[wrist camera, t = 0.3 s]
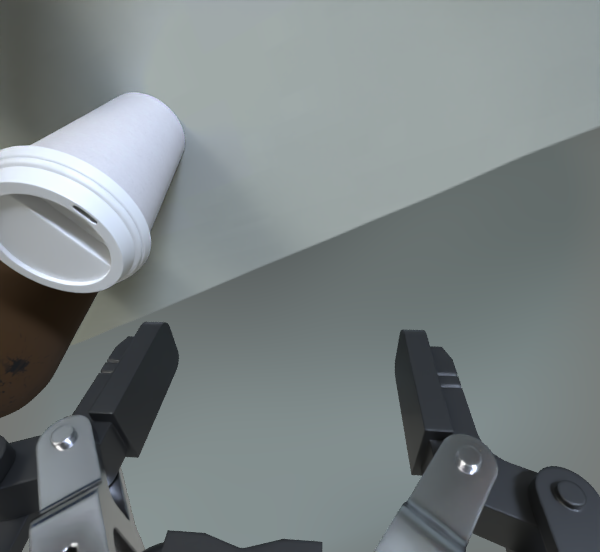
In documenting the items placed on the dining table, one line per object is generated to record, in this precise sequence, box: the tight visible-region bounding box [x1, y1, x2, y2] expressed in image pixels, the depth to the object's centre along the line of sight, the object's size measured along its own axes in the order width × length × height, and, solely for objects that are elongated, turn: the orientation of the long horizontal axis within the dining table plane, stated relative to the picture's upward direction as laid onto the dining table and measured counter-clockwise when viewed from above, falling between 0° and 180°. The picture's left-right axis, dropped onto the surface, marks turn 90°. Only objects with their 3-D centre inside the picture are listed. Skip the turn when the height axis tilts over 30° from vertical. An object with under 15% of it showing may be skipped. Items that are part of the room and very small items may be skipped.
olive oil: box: [0, 260, 99, 418], centre depth 31 cm, size 11×11×25 cm
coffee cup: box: [0, 92, 185, 293], centre depth 26 cm, size 10×10×15 cm
